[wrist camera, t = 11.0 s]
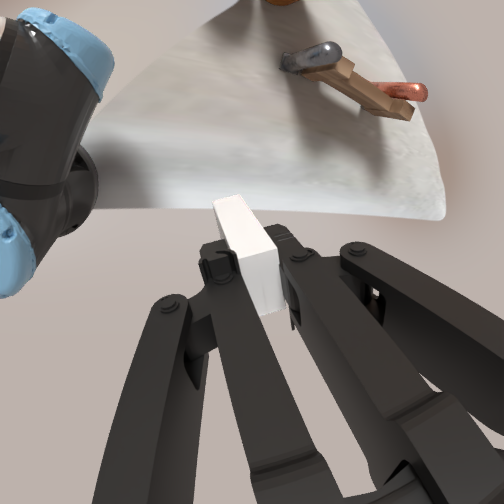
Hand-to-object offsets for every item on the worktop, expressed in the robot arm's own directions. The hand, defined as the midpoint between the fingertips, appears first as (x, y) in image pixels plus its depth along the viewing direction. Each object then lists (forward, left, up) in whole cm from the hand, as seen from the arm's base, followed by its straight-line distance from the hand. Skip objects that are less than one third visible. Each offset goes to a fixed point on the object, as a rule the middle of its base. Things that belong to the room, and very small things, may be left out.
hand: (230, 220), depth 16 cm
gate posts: (+17, +17, -28) cm, 37 cm away
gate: (+18, +15, -28) cm, 37 cm away
